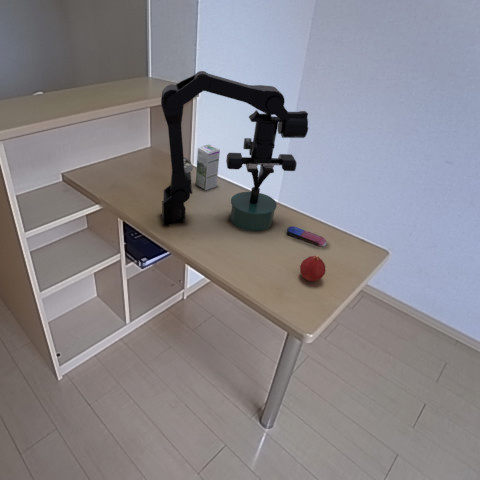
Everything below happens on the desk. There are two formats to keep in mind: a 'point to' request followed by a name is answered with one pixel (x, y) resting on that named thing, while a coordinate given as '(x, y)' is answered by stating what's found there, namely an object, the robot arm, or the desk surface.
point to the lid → (253, 202)
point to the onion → (312, 268)
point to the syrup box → (207, 167)
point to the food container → (187, 165)
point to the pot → (251, 220)
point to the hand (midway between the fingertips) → (256, 188)
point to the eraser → (306, 236)
